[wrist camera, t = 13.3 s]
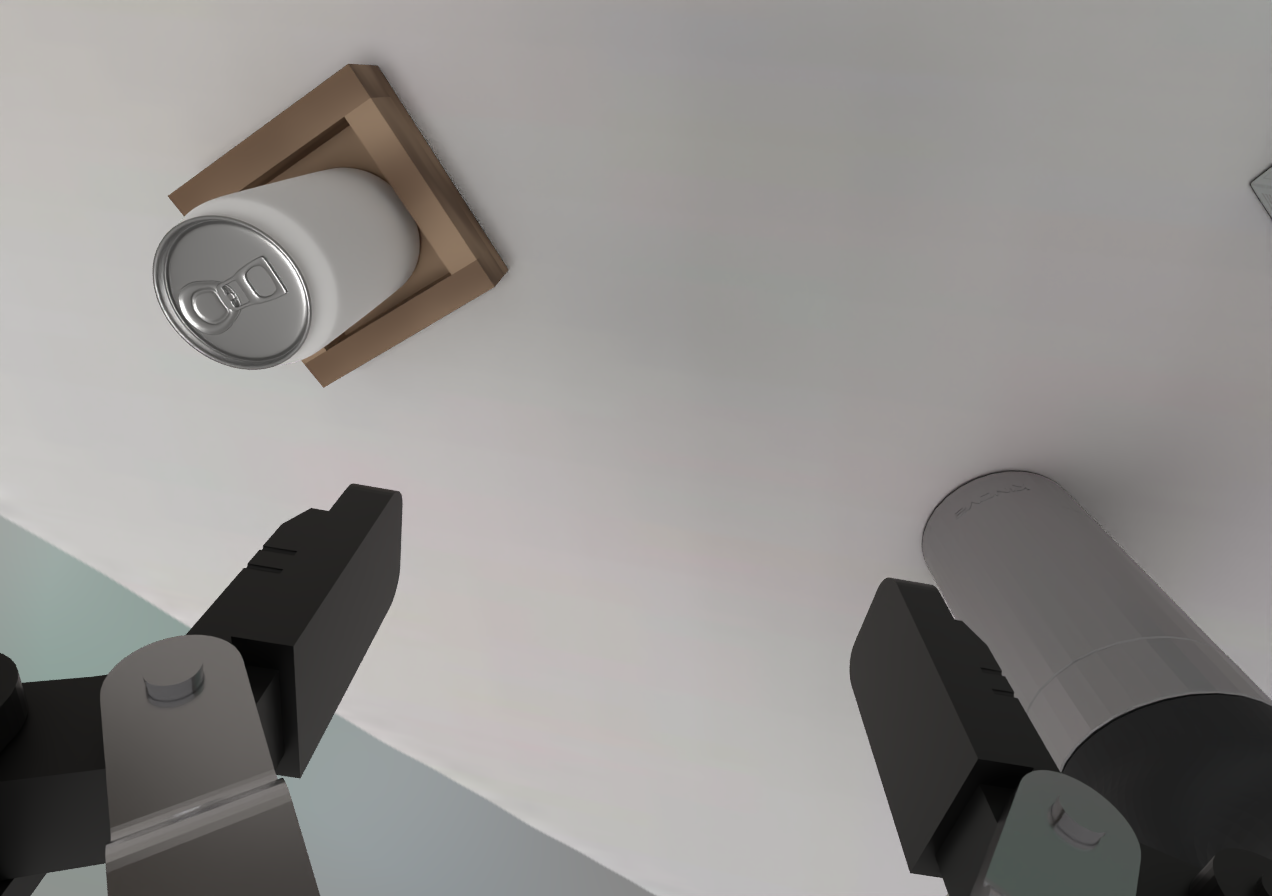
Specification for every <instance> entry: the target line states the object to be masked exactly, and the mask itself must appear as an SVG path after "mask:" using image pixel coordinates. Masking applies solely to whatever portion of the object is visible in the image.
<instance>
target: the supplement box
mask: <svg viewBox="0 0 1272 896" xmlns="http://www.w3.org/2000/svg"><path fill="white" fill-rule="evenodd" d="M1251 186H1252V188H1253V189H1254V191H1255V193H1256V194H1257V196H1258V197H1259V199H1260V201H1261V202H1262V204H1263V205H1264V207H1265V209H1266V210H1267V211H1268V213H1269V215H1270V216H1271V218H1272V167H1271V168H1270V169H1269V170H1267V171H1266V172H1265V173H1263V174H1262V175H1261V176H1259V177H1258V178H1257V179H1256V180H1254V181H1253V182H1252V183H1251Z"/></svg>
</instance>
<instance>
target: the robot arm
mask: <svg viewBox="0 0 1272 896" xmlns="http://www.w3.org/2000/svg"><path fill="white" fill-rule="evenodd" d="M401 529H402V495H401V493H400V492H399V491H394V490H388V489H382V488H376V487H371V486H365V485H359V484H351V485H349V486H348V488H347V489H346V490H345V491H344V493H343V494H342V495H341V496H340V498H339V499H338V500H337V501H336V503H335V504H334V505H333V507H332V508H331V509H330V510H329V511H325V510H319V509H313V508H311V509H309V510H307V511H305V512H303V513H301V514H300V515H298V516H296V517H294V518H292V519H290V520H289V521H287V522H285V523H283V524H282V525H281V526H280V527H279V528H278V529H277V530H276V531H275V533H274V534H273V535H272V536H271V537H270V538H269V540H268V541H267V542H266V543H265V544H264V545H263V549H262V550H259V551H258V552H257V553H256V555H255V556H254V557H253V558H252V559H251V560H250V561H249V563H248V566H247V568H243V570H242V571H241V572H240V573H239V574H238V575H237V576H236V578H235V579H234V580H233V581H232V582H231V583H230V585H229V586H228V587H227V588H226V589H225V590H224V591H223V593H222V594H221V595H220V596H219V597H218V598H217V600H216V601H215V602H214V603H213V604H212V605H211V606H210V608H209V609H208V610H207V611H206V612H205V613H204V615H203V616H202V617H201V618H200V619H199V620H198V621H197V623H196V624H195V625H194V626H193V627H192V628H191V629H190V631H189V632H188V633H187V634H186V635H184V636H176V637H171V638H167V639H163V640H160V641H156V642H154V643H151V644H149V645H147V646H144V647H143V648H140V649H138V650H136V651H135V652H133V653H131V654H130V655H128V656H127V657H125V658H124V659H123V660H121V661H120V662H119V663H118V664H117V665H116V666H115V667H114V668H113V669H112V670H111V671H110V672H109V674H108V675H102V676H94V677H84V678H73V679H61V680H49V681H38V682H26V683H21V680H20V677H19V673H18V670H17V667H16V665H15V663H14V662H13V661H12V660H11V659H10V658H9V657H7V656H5V655H4V654H1V653H0V896H30V895H31V894H32V893H33V892H34V890H35V889H36V887H37V886H38V884H39V883H40V882H41V880H42V879H43V877H44V876H45V875H46V873H49V872H55V871H61V870H67V869H73V868H80V867H86V866H91V865H97V864H104V863H106V876H107V890H108V896H320V894H319V890H318V887H317V883H316V880H315V877H314V873H313V870H312V866H311V863H310V860H309V856H308V853H307V850H306V846H305V843H304V840H303V836H302V833H301V829H300V826H299V823H298V819H297V816H296V813H295V809H294V806H293V802H292V799H291V796H290V793H289V790H288V787H287V785H286V783H285V781H284V779H283V778H280V779H277V776H276V775H282V776H288V777H295V778H301V776H302V774H303V772H304V770H305V769H306V767H307V765H308V763H309V761H310V759H311V757H312V755H313V753H314V751H315V749H316V748H317V746H318V743H319V742H320V740H321V738H322V736H323V734H324V732H325V730H326V728H327V726H328V725H329V723H330V721H331V719H332V717H333V715H334V713H335V711H336V709H337V707H338V705H339V704H340V702H341V700H342V698H343V696H344V694H345V692H346V690H347V688H348V686H349V684H350V683H351V681H352V679H353V677H354V675H355V673H356V671H357V669H358V667H359V665H360V663H361V662H362V660H363V658H364V656H365V654H366V652H367V650H368V648H369V646H370V644H371V642H372V641H373V639H374V637H375V635H376V633H377V631H378V629H379V627H380V625H381V623H382V621H383V619H384V618H385V616H386V614H387V612H388V610H389V608H390V606H391V604H392V601H393V598H394V595H395V592H396V588H397V584H398V579H399V573H400V556H401ZM922 549H923V555H924V560H925V562H926V564H927V566H928V568H929V570H930V572H931V574H932V576H933V578H934V579H935V581H936V583H937V585H938V587H939V589H940V591H941V592H942V594H943V596H944V598H945V600H946V602H947V604H948V606H949V608H950V609H951V611H952V613H953V615H954V617H955V619H956V620H954V618H953V616H952V615H951V613H950V611H949V609H948V607H947V605H946V604H945V602H944V600H943V598H942V596H941V594H940V593H939V591H938V589H937V588H936V587H935V586H933V585H929V584H923V583H917V582H912V581H906V580H900V579H894V578H886V579H884V580H883V581H882V582H881V584H880V585H879V588H878V590H877V592H876V594H875V597H874V599H873V601H872V604H871V606H870V608H869V611H868V613H867V615H866V617H865V620H864V622H863V624H862V627H861V629H860V631H859V634H858V636H857V638H856V641H855V643H854V646H853V649H852V652H851V658H850V680H851V685H852V688H853V691H854V695H855V698H856V701H857V704H858V707H859V711H860V714H861V717H862V720H863V723H864V727H865V730H866V733H867V736H868V739H869V743H870V746H871V749H872V752H873V755H874V759H875V762H876V765H877V768H878V771H879V775H880V778H881V781H882V784H883V787H884V791H885V794H886V797H887V800H888V804H889V807H890V810H891V813H892V816H893V820H894V823H895V826H896V829H897V832H898V836H899V839H900V842H901V845H902V848H903V852H904V855H905V858H906V861H907V864H908V868H909V871H910V873H913V874H920V875H927V876H933V877H940V878H943V880H944V883H945V886H946V889H947V891H948V894H947V895H946V896H1272V700H1271V699H1270V698H1269V697H1268V696H1267V695H1266V694H1265V693H1264V692H1263V691H1262V690H1261V689H1260V688H1259V687H1258V686H1257V685H1256V684H1255V683H1254V682H1253V681H1252V680H1251V679H1250V678H1249V677H1248V676H1247V675H1246V674H1245V673H1244V672H1243V671H1242V670H1241V669H1240V668H1239V667H1238V666H1237V665H1236V664H1235V663H1234V662H1233V661H1232V660H1231V659H1230V658H1229V657H1228V656H1227V655H1226V654H1225V653H1224V652H1223V651H1222V650H1221V649H1220V648H1219V647H1218V646H1217V645H1216V644H1215V643H1214V642H1213V641H1212V640H1211V639H1210V638H1209V637H1208V636H1207V635H1206V634H1205V633H1204V632H1203V631H1202V630H1201V629H1200V628H1199V627H1198V626H1197V625H1196V624H1195V623H1194V621H1193V620H1192V619H1191V618H1190V617H1189V616H1188V615H1187V614H1186V613H1185V612H1184V611H1183V610H1182V609H1181V608H1180V607H1179V606H1178V605H1177V604H1176V603H1175V602H1174V601H1173V600H1172V599H1171V598H1170V597H1169V596H1168V595H1167V594H1166V593H1165V592H1164V591H1163V590H1162V589H1161V588H1160V587H1159V586H1158V585H1157V584H1156V583H1155V582H1154V581H1153V580H1152V579H1151V578H1150V577H1149V576H1148V575H1147V574H1146V573H1145V572H1144V571H1143V570H1142V568H1141V567H1140V566H1139V565H1138V564H1137V563H1136V562H1135V561H1134V560H1133V559H1132V558H1131V557H1130V556H1129V555H1128V554H1127V553H1126V552H1125V551H1124V550H1123V549H1122V548H1121V547H1120V546H1119V545H1118V544H1117V543H1116V542H1115V541H1114V540H1113V539H1112V538H1111V537H1110V536H1109V535H1108V534H1107V533H1106V532H1105V531H1104V530H1103V529H1102V528H1101V526H1100V525H1099V524H1098V523H1097V522H1096V521H1095V520H1094V519H1093V518H1092V517H1091V516H1090V515H1089V514H1088V513H1087V512H1086V511H1085V510H1084V509H1083V508H1082V507H1081V506H1080V505H1079V504H1078V503H1077V502H1076V501H1075V500H1074V499H1073V498H1072V497H1071V496H1070V495H1069V494H1068V493H1067V492H1066V491H1065V490H1064V489H1063V488H1062V487H1060V486H1059V485H1058V484H1057V483H1055V482H1054V481H1052V480H1050V479H1048V478H1046V477H1043V476H1041V475H1037V474H1033V473H1028V472H1010V471H1009V472H1002V473H996V474H991V475H988V476H984V477H981V478H978V479H975V480H973V481H971V482H970V483H968V484H966V485H964V486H962V487H960V488H959V489H957V490H956V491H955V492H953V493H952V494H951V495H949V496H948V497H947V498H946V499H945V500H944V501H943V502H942V503H941V504H940V505H939V506H938V507H937V508H936V510H935V511H934V513H933V514H932V516H931V518H930V519H929V521H928V523H927V526H926V529H925V532H924V534H923V544H922Z"/></svg>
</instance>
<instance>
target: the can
mask: <svg viewBox="0 0 1272 896" xmlns="http://www.w3.org/2000/svg"><path fill="white" fill-rule="evenodd" d="M419 250H420V239H419V232H418V228H417V224H416V222H415V220H414V219H413V217H412V216H411V214H410V213H409V211H408V210H407V208H406V207H405V206H404V204H403V203H402V201H401V200H400V198H399V197H398V195H397V194H396V192H395V191H394V189H393V188H392V186H391V185H389V184H388V183H387V182H385V181H384V180H382V179H381V178H379V177H377V176H376V175H374V174H371V173H369V172H366V171H363V170H360V169H355V168H333V169H327V170H323V171H318V172H314V173H310V174H306V175H302V176H298V177H294V178H290V179H286V180H282V181H278V182H274V183H270V184H266V185H263V186H259V187H255V188H251V189H247V190H243V191H240V192H236V193H232V194H229V195H225V196H221V197H218V198H215V199H212V200H209V201H207V202H205V203H203V204H201V205H199V206H197V207H195V208H194V209H192V210H191V211H190V212H189V213H188V214H186V215H185V216H184V218H183V219H182V220H181V221H180V222H179V224H178V225H176V226H175V227H173V228H172V229H171V230H170V231H169V232H168V233H167V234H166V235H165V236H164V238H163V239H162V240H161V242H160V244H159V246H158V248H157V250H156V253H155V257H154V262H153V284H154V289H155V293H156V296H157V299H158V302H159V304H160V307H161V309H162V311H163V313H164V315H165V316H166V318H167V320H168V321H169V323H170V324H171V325H172V327H173V328H174V329H175V330H176V332H177V333H178V334H179V335H180V336H181V337H182V338H183V339H184V340H185V341H186V342H187V343H188V344H189V345H191V346H192V347H193V348H194V349H196V350H197V351H198V352H200V353H201V354H203V355H205V356H206V357H208V358H210V359H212V360H214V361H216V362H219V363H221V364H224V365H227V366H230V367H234V368H239V369H247V370H258V369H266V368H270V367H274V366H277V365H285V364H291V363H295V362H298V361H301V360H303V359H305V358H307V357H309V356H311V355H313V354H315V353H316V352H318V351H319V350H321V349H322V348H323V347H325V346H326V345H327V344H329V343H330V342H331V341H333V340H334V339H335V338H337V337H338V336H339V335H341V334H342V333H343V332H345V331H346V330H347V329H349V328H350V327H351V326H352V325H354V324H355V323H356V322H358V321H359V320H360V319H361V318H363V317H364V316H365V315H367V314H368V313H369V312H370V311H372V310H373V309H374V308H376V307H377V306H378V305H379V304H381V303H382V302H383V301H384V300H386V299H387V298H388V297H390V296H391V295H392V294H393V293H394V292H396V291H397V290H398V289H399V288H400V287H402V286H403V285H404V284H405V283H406V281H407V280H408V279H409V278H410V276H411V275H412V273H413V271H414V269H415V267H416V264H417V261H418V257H419Z"/></svg>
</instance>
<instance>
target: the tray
mask: <svg viewBox="0 0 1272 896" xmlns="http://www.w3.org/2000/svg"><path fill="white" fill-rule="evenodd" d="M333 168H355V169H360V170H363V171H366V172H369V173H371V174H374V175H376V176H377V177H379V178H381V179H382V180H384V181H385V182H387V183H388V184H389V185H391V186H392V188H393V189H394V191H395V192H396V194H397V195H398V197H399V198H400V200H401V201H402V203H403V204H404V206H405V207H406V208H407V210H408V211H409V213H410V214H411V216H412V217H413V219H414V220H415V222H416V224H417V228H418V232H419V239H420V250H419V257H418V261H417V264H416V267H415V269H414V271H413V273H412V275H411V276H410V278H409V279H408V280H407V281H406V283H405V284H404V285H403V286H402V287H400V288H399V289H398V290H397V291H396V292H394V293H393V294H392V295H391V296H390V297H388V298H387V299H386V300H384V301H383V302H382V303H381V304H379V305H378V306H377V307H376V308H374V309H373V310H372V311H370V312H369V313H368V314H367V315H365V316H364V317H363V318H361V319H360V320H359V321H358V322H356V323H355V324H354V325H352V326H351V327H350V328H349V329H347V330H346V331H345V332H343V333H342V334H341V335H339V336H338V337H337V338H335V339H334V340H333V341H331V342H330V343H329V344H327V345H326V346H325V347H323V348H322V349H321V350H319V351H318V352H316V353H315V354H313V355H311V356H309V357H307V358H305V359H303V360H301V361H302V362H303V363H304V364H305V366H306V367H307V368H308V369H309V370H310V372H311V373H312V374H313V375H314V377H315V378H316V379H317V380H318V382H319V383H320V384H321V385H322V386H323V388H324V387H325V386H327V385H329V384H331V383H332V382H334V381H336V380H337V379H339V378H341V377H342V376H344V375H346V374H348V373H349V372H351V371H353V370H354V369H356V368H358V367H359V366H361V365H363V364H365V363H366V362H368V361H370V360H371V359H373V358H375V357H376V356H378V355H380V354H381V353H383V352H385V351H387V350H388V349H390V348H392V347H393V346H395V345H397V344H398V343H400V342H402V341H404V340H405V339H407V338H409V337H410V336H412V335H414V334H415V333H417V332H419V331H421V330H422V329H424V328H426V327H427V326H429V325H431V324H432V323H434V322H436V321H437V320H439V319H441V318H443V317H444V316H446V315H448V314H449V313H451V312H453V311H454V310H456V309H458V308H460V307H461V306H463V305H465V304H466V303H468V302H470V301H471V300H473V299H475V298H477V297H478V296H480V295H482V294H483V293H485V292H487V291H488V290H490V289H492V288H493V287H495V286H496V284H497V283H498V282H499V281H500V280H501V278H502V277H503V276H504V275H505V274H506V272H507V271H508V269H507V267H506V266H505V264H504V262H503V261H502V259H501V258H500V256H499V255H498V253H497V251H496V250H495V248H494V247H493V245H492V244H491V242H490V241H489V239H488V237H487V236H486V234H485V233H484V231H483V230H482V228H481V226H480V225H479V223H478V222H477V220H476V219H475V217H474V216H473V214H472V212H471V211H470V209H469V208H468V206H467V205H466V203H465V201H464V200H463V198H462V197H461V195H460V194H459V192H458V191H457V189H456V187H455V186H454V184H453V183H452V181H451V180H450V178H449V177H448V175H447V173H446V172H445V170H444V169H443V167H442V166H441V164H440V162H439V161H438V159H437V158H436V156H435V155H434V153H433V152H432V150H431V148H430V147H429V145H428V144H427V142H426V141H425V139H424V137H423V136H422V134H421V133H420V131H419V130H418V128H417V127H416V125H415V123H414V122H413V120H412V119H411V117H410V116H409V114H408V113H407V111H406V109H405V108H404V106H403V105H402V103H401V102H400V100H399V98H398V97H397V95H396V94H395V92H394V91H393V89H392V88H391V86H390V84H389V83H388V81H387V80H386V78H385V77H384V75H383V73H382V72H381V70H380V69H379V67H378V66H374V65H358V64H347V65H346V66H345V67H343V68H342V69H341V70H339V71H338V72H336V73H335V74H334V75H332V76H331V77H330V78H328V79H327V80H326V81H324V82H323V83H321V84H320V85H319V86H317V87H316V88H315V89H313V90H312V91H311V92H309V93H308V94H306V95H305V96H304V97H302V98H301V99H300V100H298V101H297V102H296V103H294V104H293V105H291V106H290V107H289V108H287V109H286V110H285V111H283V112H282V113H281V114H279V115H278V116H276V117H275V118H274V119H272V120H271V121H270V122H268V123H267V124H266V125H264V126H263V127H261V128H260V129H259V130H257V131H256V132H255V133H253V134H252V135H251V136H249V137H248V138H246V139H245V140H244V141H242V142H241V143H240V144H238V145H237V146H235V147H234V148H233V149H231V150H230V151H229V152H227V153H226V154H225V155H223V156H222V157H220V158H219V159H218V160H216V161H215V162H214V163H212V164H211V165H210V166H208V167H207V168H205V169H204V170H203V171H201V172H200V173H199V174H197V175H196V176H195V177H193V178H192V179H190V180H189V181H188V182H186V183H185V184H184V185H182V186H181V187H180V188H178V189H177V190H175V191H174V192H173V193H171V194H170V195H169V196H168V197H169V198H170V199H171V201H172V202H173V203H174V204H175V206H176V207H177V208H178V209H179V211H180V212H181V213H182V214H183V215H184V216H185V215H186V214H188V213H189V212H190V211H191V210H192V209H194V208H195V207H197V206H199V205H201V204H203V203H205V202H207V201H209V200H212V199H215V198H218V197H221V196H225V195H229V194H232V193H236V192H240V191H243V190H247V189H251V188H255V187H259V186H263V185H266V184H270V183H274V182H278V181H282V180H286V179H290V178H294V177H298V176H302V175H306V174H310V173H314V172H318V171H323V170H327V169H333Z"/></svg>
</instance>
